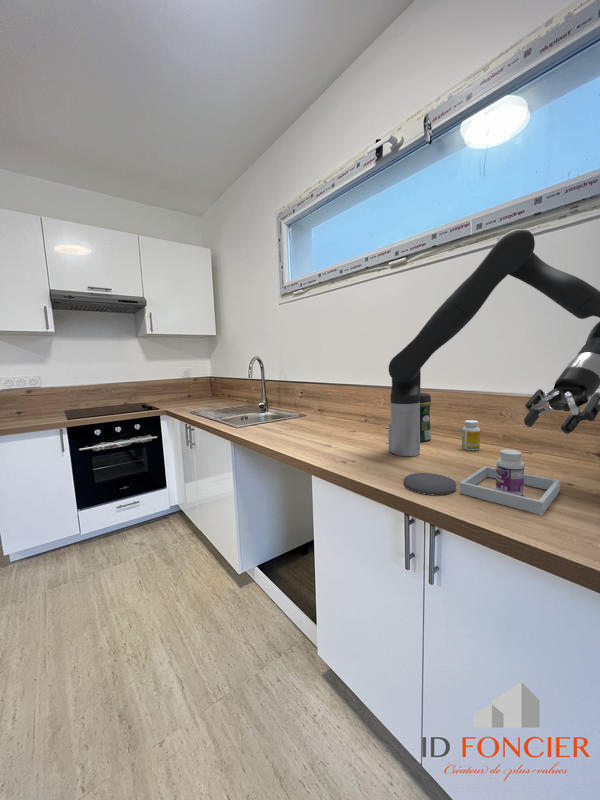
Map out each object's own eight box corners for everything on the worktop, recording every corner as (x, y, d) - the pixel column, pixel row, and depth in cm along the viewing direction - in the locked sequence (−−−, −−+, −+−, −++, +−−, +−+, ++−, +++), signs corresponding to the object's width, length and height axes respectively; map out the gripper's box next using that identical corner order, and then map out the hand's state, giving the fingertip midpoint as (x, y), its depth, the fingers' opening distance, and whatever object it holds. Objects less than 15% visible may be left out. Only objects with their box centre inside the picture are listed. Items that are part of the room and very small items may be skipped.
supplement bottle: (458, 448, 109) (458, 420, 108) (468, 445, 111) (469, 419, 110) (472, 451, 104) (473, 423, 103) (483, 449, 107) (483, 421, 105)
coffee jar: (400, 438, 126) (400, 392, 124) (415, 435, 130) (415, 390, 127) (419, 443, 117) (419, 394, 115) (434, 440, 121) (434, 392, 119)
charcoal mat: (394, 485, 79) (394, 482, 79) (419, 473, 87) (419, 469, 87) (442, 499, 70) (442, 495, 70) (464, 484, 78) (464, 480, 78)
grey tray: (459, 492, 73) (459, 482, 73) (484, 475, 84) (484, 466, 83) (542, 515, 62) (542, 502, 61) (559, 491, 72) (560, 480, 72)
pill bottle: (490, 488, 75) (491, 449, 74) (511, 486, 76) (512, 447, 74) (506, 498, 70) (508, 455, 69) (529, 496, 70) (531, 454, 69)
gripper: (544, 365, 81) (508, 413, 80) (612, 365, 68) (570, 422, 66) (558, 384, 84) (523, 431, 82) (627, 388, 70) (587, 444, 68)
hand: (544, 427), depth 74 cm, fingers open, 8 cm apart
